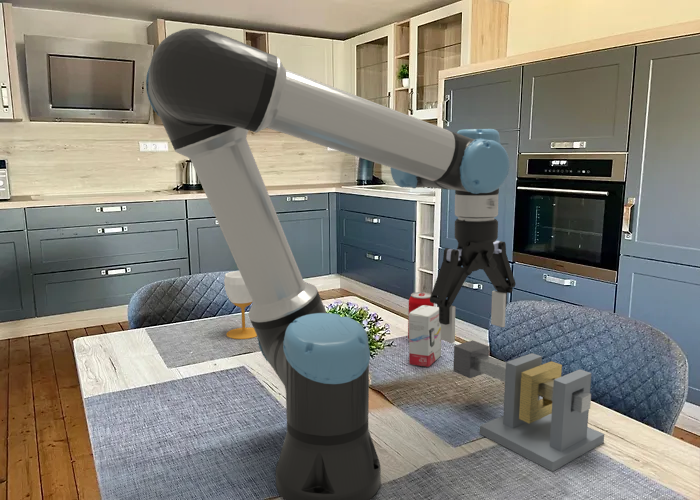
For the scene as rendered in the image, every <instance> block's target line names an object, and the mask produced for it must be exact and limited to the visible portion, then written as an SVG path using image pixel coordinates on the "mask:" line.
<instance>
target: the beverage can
mask: <svg viewBox="0 0 700 500" xmlns="http://www.w3.org/2000/svg"><path fill="white" fill-rule="evenodd" d="M431 294H432V293H429V292H424V291H418V292H412V293H411V294H410V297H409V299H408V309H407V310H408V315H407V317H408V318H407V320H408V321H407V325H408V326H407V327H408V328H407V339H408V340H409V314H410V312H412V311H413V310H415V309H417V308H418V307H420V306H422V305H427V306H434V307H435V303H431V302H430V297H431Z"/></svg>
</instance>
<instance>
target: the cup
mask: <svg viewBox="0 0 700 500" xmlns="http://www.w3.org/2000/svg"><path fill="white" fill-rule="evenodd" d="M223 281H224V289H225V294H226V296H227V298H228V299H229V301H230V303H232V305H234V306H236V307H239V308H240V310H241V327H237V328H234V329H230V330H228V331H227V332H226V337H227V338H230V339H233V340H248V339H253V338H257V334H256V332H255V330H254V328H253V327H252V326H251V327H250V326H249V327H248V326H247V327H246V315H245V313H246V311H245V309H246V308H247V307H249V306H250V305H252V304H253V301H252V299H251V296H250V294H249V292H248V290H247V287H246V285H245V283H244V280H243V278H242V276H241V274H240V271H239V270H235V271H229V272H226V273H225V274H224V279H223Z"/></svg>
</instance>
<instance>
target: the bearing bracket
mask: <svg viewBox="0 0 700 500" xmlns="http://www.w3.org/2000/svg"><path fill="white" fill-rule="evenodd" d="M505 362H506V370H505V382H504V394H503V395H504V396H503V399H504V400H503V414H502V415H501V416H499V417H495V418H493V419H491V420H489V421H487V422H485V423H482V424H480V425H479V434H480V435H482V436H484V437H486V438H488V439H489V440H491V441H493V442H495V443H496V444H499V445H501V446H503V447H504V448H506V449H509V450H510V451H512V452H514V453H516V454H518V455H520V456H522V457H524V458H526V459H528V460H530V461H532V462H533V463H536V464H537V465H540V466H541V467H543V468H545V469H547V470H549V471H551V472H554V471H556V470H558V469H560V468H561V467H563V466H565V465H566V464H567V465H568V463H570V462H572V461H573V460H575V459H578V458H579V457H581V456H583V455H584V454H586V453H588V452H590V451H591V450H593V449H594V448H596V447H598V446H600V445H602V444H604V442H605V433H603V432H601V431H599V430H596V429H594V428H591V427H589V426H588V425H589V424H588V423H589V413H590V409H588V410H586V411H584V412H582V413H580V412H578V411H575V410H573V409H571V401H572V393H573V392H575V391H577V390H582V391H584V392H587V393H590V394H591V384H592V372H589V371H587V370H584V369H581V368H579V369H577V370H574V371H572V372H569V373H567V374H565V375H563V376H562V375H561V377H560V378H557V379H555V380H554V384H553V400H552V413H551V414H549V415H547V416H545V417H543V418H541V419H538V420H536V421H534V422H532V423H530V424H529V423H527V422H525V421H523V420H520V419H519V410H520V391H521V372H524V371H527V370H529V369H532V368H535V367H537V366H540V365H543V364H542V363H543V356H542V355H539V354H535V353H533V352H531V353H529V354H525V355H523V356H520V357H517V358H515V359H511V360H508V361H505ZM540 397H541V396H538V400H541V398H540Z"/></svg>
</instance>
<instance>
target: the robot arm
mask: <svg viewBox="0 0 700 500" xmlns="http://www.w3.org/2000/svg"><path fill="white" fill-rule="evenodd" d="M145 77H146V79H145V82H146V83H145V85H146V86H145V89H146V94H147V98H148V101H149V104H150V106H151V108H152V109H153V111H154V112H155V113H156V115H157V117H159V118H160V120H161V123H162V125H163V127H164V130H165V131H166V134H167V136H168V138H169V140H170V143H171V145H172V147H173V149H174V151H175V153H177V154H180V155H182V156H184V157H187V158H188V159H189V160H190V162H191V164H192V166H193V169H194V170H195V173H196V175H197V177H198V180H199V182H200V184H201V186H202V189H203V191H204V194H205V195H206V196H205V197H206V199H207V201H208V202H209V205H210V208H211V210H212V211H213V212H212V213H214V216H215V219H216V221H217V223H218V225H219V228H220V230H221V232H222V235H223V237H224V239H225V241H226V244H227V246H228V248H229V251H230V252H231V255H232V257H233V259H234V262H235V264H236V267H237V269H238V271H240V274H241V276H242V278H243V280H244V283H245V285H246V287H247V290H248V292H249V294H250V296H251V299H252V301H253V302H252V303H251V306H250V309H249V311H248V315H247V316H248V319H249V320H250V323H251V325H252V326H251V327H252V328H254V330H255V332H256V334H257V337H256V339H257V341H258V347H259V350H260V352H261V354H262V356H263V357H264V359H265V360H266V362H268V364H269V365H270V366H271V368H272V369H273V370H274V372H275V374H276V375H277V376H278V378H279V379H280V381H281V382H282V384H283V386H284V389H285V402H286V403H285V406H286V408H285V409H286V411H285V412H286V434H285V437H284V440H283V444H282V447H281V450H280V454H279V457H278V460H277V463H276V466H275V486H276V490H277V492H278V494H279V495H280V497H282V499H283V500H370V499H372V498H373V497H374V495H376V494H377V492H378V490H379V488H380V486H381V481H382V480H381V478H382V477H381V474H382V473H381V471H382V470H381V462H380V459H379V456H378V454H377V451H376V448H375V445H374V444H375V443H374V441H373V439H372V435H371V433H370V431H369V430H370V429H369V409H370V408H369V398H370V393H369V392H370V388H369V387H370V381H369V380H370V360H371V352H370V346H369V337H368V334H367V331H366V330H365V327H363V325H362V324H360V323H359V322H358V321H357V320H355V319H353V318H351V317H348V316H341V315H340V314H338V313H332V312H327V310H326V308H325V306H324V303H323V300H322V298H321V296H320V293H319V291H318V289H317V286H315V284H312V283H309V282H307V281H304V279H303V276H302V273H301V271H300V268H299V267H298V263H297V262H296V259H295V256H294V254H293V252H292V249H291V246H290V244H289V242H288V239H287V236H286V234H285V232H284V229H283V227H282V224H281V222H280V220H279V216H278V215H277V214H278V213H277V212H276V209H275V207H274V204H273V202H272V199H271V197H270V194H269V192H268V190H267V187H266V184H265V182H264V180H263V177H262V174H261V172H260V169H259V167H258V165H257V162H256V160H255V157H254V155H253V152H252V149H251V147H250V145H249V142H248V140H247V139H248V138H247V135H248V133H249V132H252V133H259V132H260V131H262V130H264V129H269V130H273V131H275V132H278V133H282V134H286V135H288V136H292V137H295V138H298V139H301V140H303V141H304V140H305V141H307V142H311V143H313V144H316V145H319V146H323V147H326V148H328V149H333V150H336V151H338V152H342V153H344V154H348V155H351V156H354V157H357V158H360V159H363V160H366V161H370V162H373V163H376V164H379V165H382V166H385V167H388V168H390V175H391V178H392V180H393V182H394V183H395V184H396V186H398V187H400V188H404V189H405V188H406V189H407V188H412V189H416V188H430V189H431V188H432V189H439V190H440V189H441V190H450V191H451V190H452V191H454V193H455V194H454V216H455V217H457V218H456V219H455V220H454V239H455V240H456V241H457V247H456V249H453V248H448V247H446V248H445V249H443V254H442V255H443V257H442V263H441V265H440V268H439V271H438V274H437V278H436V280H435V283H434V285H433V288H432V292H431V293H430V294H431V297H430V302H431V303H434V305H435V304H436V305H438V307H439V322H440V323H441V341H445V342H448V343H450V344H453V343H456V342H455V341H456V340H455V339H456V306H454V305H453V304H454V302H455V299H456V297H457V296H458V295H459V293H460V291H461V288H462V287H463V285H464V283H465V281H466V279H467V278H468V277H469V276H471V274H473V272H478V271H479V270H483V272H484V274H485V275H486V276H487V278H488V280H489V281H490V283H491V285H492V286H493V288H494V289H495V290H492V291H491V315H490V317H491V318H490V324H491V325H493V326H496V327H499V328H505V327H506V308H507V304H508V303H507V302H508V294H512V292H513V290H514V288H515V286H516V280H515V277H514V274H513V271H512V268H511V264H510V261H509V258H508V255H507V248H506V247H507V245H506V241H502V240H497V239H498V237H499V236H498V235H499V221H498V219H497V218H496V217H497V216H499V194H500V193H499V191H500V190H499V189H500V188H501V187H502V185H503V184H504V183H505V181H506V180H507V178H508V175H509V170H510V157H509V155H508V152H507V150H506V149H505V147H504V146H503V145H502V144H501V137H500V132H499V131H498V130H497V129H493V128H470V129H469V128H467V129H466V128H465V129H459V130H458V131H457V132H455V131H450V130H449V129H446V128H443V127H441V126H438V125H435V124H433V123H431V122H427V121H425V120H422V119H421V118H417V117H415V116H412V115H409V114H406V113H404V112H401V111H399V110H396V109H392V108H390V107H387V106H385V105H382V104H380V103H377V102H374V101H372V100H369V99H366V98H363V97H361V96H358V95H356V94H354V93H351V92H348V91H345V90H342V89H340V88H337V87H334V86H331V85H329V84H326V83H323V82H321V81H318V80H316V79H314V78H311V77H308V76H306V75H302V74H300V73H298V72H294V71H292V70H289V69H287V68H285V67H284V66H283V63H282V62H281V58H280V57H279V56H276V55H274V54H271V53H269V52H265V51H264V50H260V49H259V48H257V47H254V46H251V45H249V44H246V43H244V42H241V41H239V40H237V39H234V38H232V37H229V36H227V35H224V34H222V33H219V32H217V31H213V30H209V29H205V28H185V29H181V30H178V31H175V32H173V33H171V34H169V35H167V36H166V37H165V38H164V39H163V40H162V41H161V42H160V43H159V44H158V46H157V47H156V48H155V49H154V52H153V55H152V57H151V61H150V64H149V67H148V70H147V74H146V76H145Z"/></svg>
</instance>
